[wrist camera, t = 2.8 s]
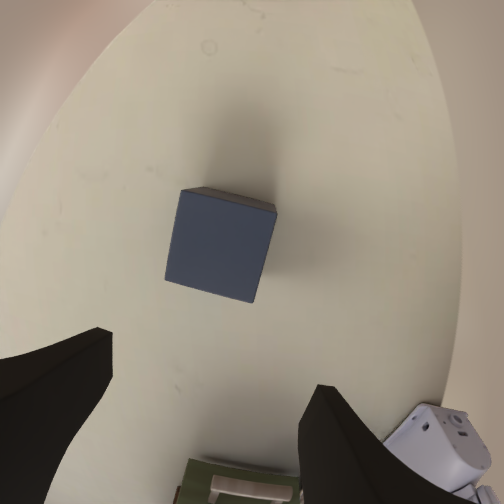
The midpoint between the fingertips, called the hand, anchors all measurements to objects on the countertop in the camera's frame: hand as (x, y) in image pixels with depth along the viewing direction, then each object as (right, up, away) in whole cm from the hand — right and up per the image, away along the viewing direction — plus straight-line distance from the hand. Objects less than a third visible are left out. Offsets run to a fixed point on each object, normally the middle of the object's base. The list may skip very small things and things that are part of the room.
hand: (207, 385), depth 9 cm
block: (0, +6, +8) cm, 10 cm away
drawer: (0, -19, +14) cm, 24 cm away
